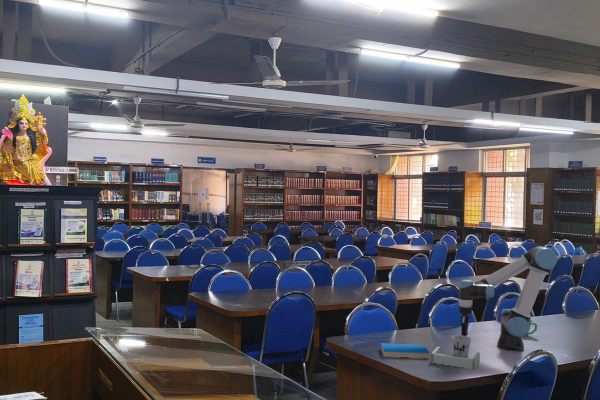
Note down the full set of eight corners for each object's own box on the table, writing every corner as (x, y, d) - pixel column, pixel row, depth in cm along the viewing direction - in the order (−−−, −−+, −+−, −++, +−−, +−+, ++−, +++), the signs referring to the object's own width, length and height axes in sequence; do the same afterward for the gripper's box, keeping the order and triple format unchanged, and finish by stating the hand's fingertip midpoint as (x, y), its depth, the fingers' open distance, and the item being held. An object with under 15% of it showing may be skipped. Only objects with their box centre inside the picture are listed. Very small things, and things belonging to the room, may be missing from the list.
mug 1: (450, 356, 312) (450, 338, 312) (453, 349, 326) (453, 332, 326) (469, 358, 308) (470, 340, 308) (471, 352, 322) (472, 334, 322)
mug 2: (512, 334, 372) (512, 319, 372) (521, 332, 377) (521, 317, 377) (532, 338, 360) (533, 323, 360) (541, 337, 365) (541, 321, 365)
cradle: (479, 361, 302) (479, 352, 302) (475, 369, 287) (475, 359, 287) (437, 355, 312) (437, 346, 312) (430, 362, 297) (430, 353, 297)
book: (429, 352, 305) (384, 350, 306) (429, 360, 305) (383, 358, 306) (423, 344, 322) (380, 342, 323) (423, 352, 322) (380, 349, 323)
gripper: (460, 304, 335) (459, 343, 335) (457, 307, 323) (455, 347, 323) (473, 305, 331) (472, 344, 331) (470, 308, 320) (469, 349, 320)
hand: (464, 346), depth 327 cm, fingers closed
